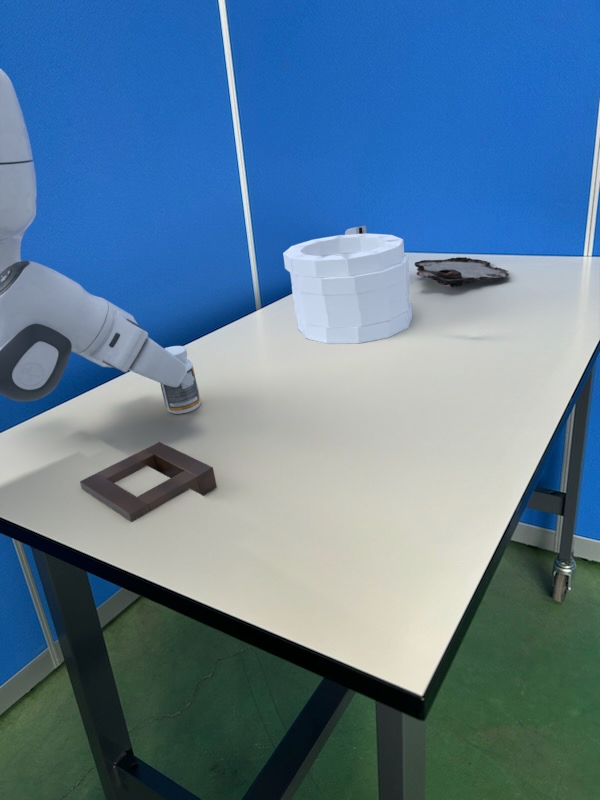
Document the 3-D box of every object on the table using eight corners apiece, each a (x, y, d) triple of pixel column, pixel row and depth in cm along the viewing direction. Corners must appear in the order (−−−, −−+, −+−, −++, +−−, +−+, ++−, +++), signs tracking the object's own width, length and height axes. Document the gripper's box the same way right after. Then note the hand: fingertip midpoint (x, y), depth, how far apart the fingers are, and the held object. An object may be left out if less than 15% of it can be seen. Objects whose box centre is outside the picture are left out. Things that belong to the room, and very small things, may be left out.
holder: (135, 535, 71) (129, 514, 70) (85, 501, 79) (79, 481, 78) (217, 487, 78) (213, 467, 77) (164, 460, 86) (159, 441, 85)
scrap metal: (428, 264, 169) (397, 288, 144) (430, 249, 167) (399, 271, 142) (514, 276, 161) (498, 304, 136) (517, 261, 159) (502, 286, 134)
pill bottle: (208, 403, 102) (197, 346, 98) (182, 418, 98) (169, 359, 94) (184, 397, 105) (173, 342, 101) (159, 411, 101) (145, 354, 97)
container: (271, 332, 132) (260, 256, 125) (342, 301, 146) (336, 231, 139) (363, 351, 115) (357, 265, 108) (434, 314, 130) (432, 236, 123)
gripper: (75, 339, 99) (146, 376, 108) (120, 371, 83) (199, 411, 92) (95, 305, 99) (164, 344, 108) (144, 330, 83) (220, 374, 92)
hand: (181, 375), depth 100 cm, fingers closed on pill bottle, 6 cm apart
